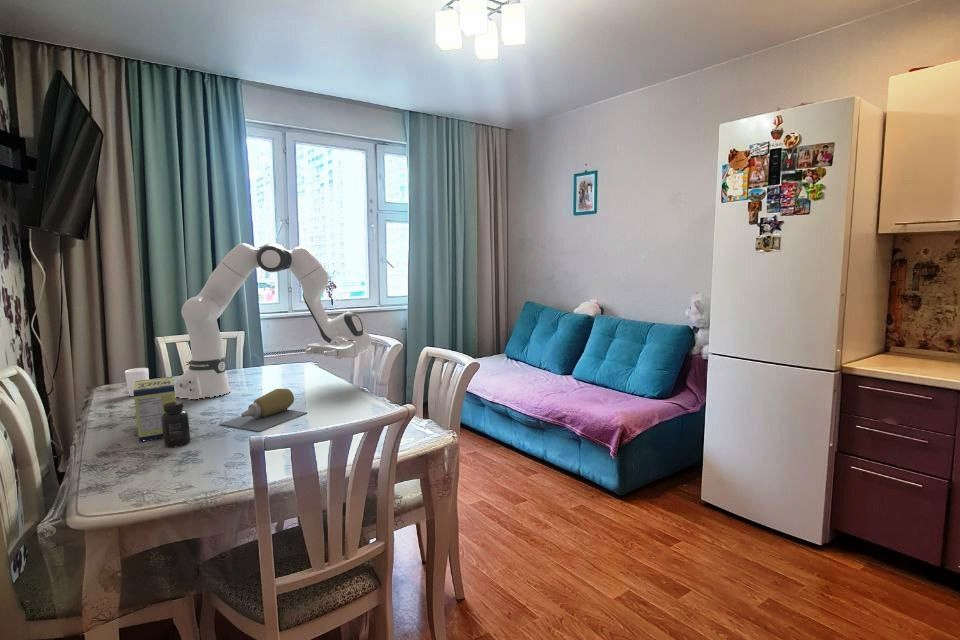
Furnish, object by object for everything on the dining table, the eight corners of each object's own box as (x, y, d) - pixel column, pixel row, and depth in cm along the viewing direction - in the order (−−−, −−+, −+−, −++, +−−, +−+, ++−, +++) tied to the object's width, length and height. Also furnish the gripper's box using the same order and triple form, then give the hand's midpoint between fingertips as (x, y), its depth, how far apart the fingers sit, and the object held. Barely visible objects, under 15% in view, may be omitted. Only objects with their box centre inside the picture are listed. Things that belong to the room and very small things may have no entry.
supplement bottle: (196, 439, 155) (192, 400, 153) (180, 448, 148) (176, 407, 147) (174, 439, 156) (170, 400, 154) (158, 447, 149) (153, 406, 147)
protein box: (177, 422, 172) (173, 375, 170) (179, 435, 159) (174, 385, 157) (139, 428, 167) (134, 380, 165) (138, 443, 153) (132, 391, 151)
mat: (269, 407, 186) (268, 406, 186) (307, 413, 178) (307, 412, 178) (219, 424, 168) (218, 423, 168) (258, 432, 160) (258, 430, 160)
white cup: (154, 393, 210) (152, 368, 208) (133, 398, 203) (130, 373, 202) (144, 391, 214) (142, 367, 212) (123, 395, 207) (120, 370, 206)
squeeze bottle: (284, 408, 185) (239, 427, 170) (278, 386, 184) (231, 403, 169) (299, 406, 181) (253, 426, 166) (292, 384, 180) (246, 402, 165)
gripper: (320, 337, 216) (295, 343, 204) (360, 341, 207) (336, 347, 195) (321, 352, 217) (296, 358, 204) (360, 357, 208) (336, 363, 195)
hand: (316, 353), depth 199 cm, fingers open, 8 cm apart
